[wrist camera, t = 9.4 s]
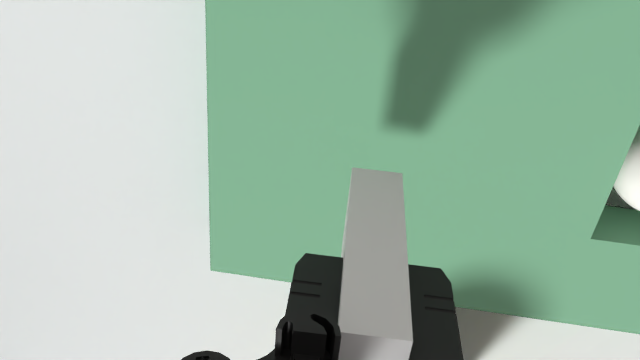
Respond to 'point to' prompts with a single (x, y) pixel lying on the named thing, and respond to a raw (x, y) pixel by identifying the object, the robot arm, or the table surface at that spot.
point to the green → (434, 142)
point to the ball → (630, 175)
